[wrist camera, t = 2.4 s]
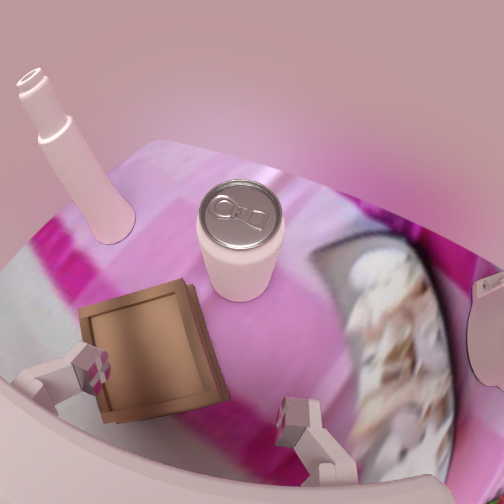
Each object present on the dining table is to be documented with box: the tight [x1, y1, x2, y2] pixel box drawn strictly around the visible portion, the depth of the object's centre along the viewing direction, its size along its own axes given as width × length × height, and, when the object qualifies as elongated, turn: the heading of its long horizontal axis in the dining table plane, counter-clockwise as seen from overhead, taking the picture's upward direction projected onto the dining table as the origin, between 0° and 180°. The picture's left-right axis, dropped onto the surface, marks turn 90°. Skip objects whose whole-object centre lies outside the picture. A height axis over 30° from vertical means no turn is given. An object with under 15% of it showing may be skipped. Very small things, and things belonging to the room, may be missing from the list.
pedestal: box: [78, 278, 230, 424], centre depth 23 cm, size 12×12×5 cm
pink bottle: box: [17, 68, 135, 244], centre depth 21 cm, size 6×6×22 cm
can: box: [196, 179, 285, 302], centre depth 24 cm, size 6×6×12 cm
